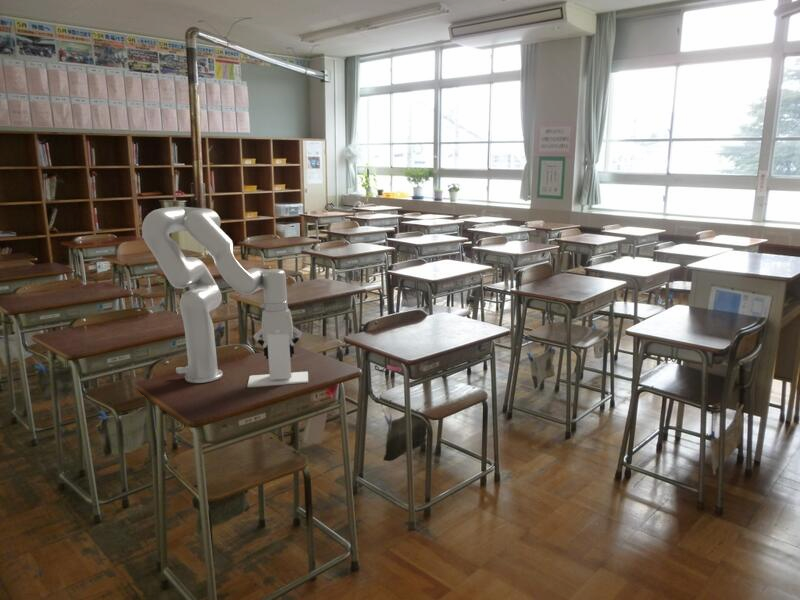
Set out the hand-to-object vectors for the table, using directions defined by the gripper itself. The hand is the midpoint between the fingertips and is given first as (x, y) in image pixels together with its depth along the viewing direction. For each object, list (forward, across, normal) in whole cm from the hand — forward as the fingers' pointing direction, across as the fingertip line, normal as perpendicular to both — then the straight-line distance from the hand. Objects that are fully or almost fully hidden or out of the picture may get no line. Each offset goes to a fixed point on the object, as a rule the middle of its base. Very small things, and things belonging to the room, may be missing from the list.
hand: (279, 356), depth 208 cm
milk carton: (+7, 0, 0) cm, 7 cm away
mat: (+8, -1, 0) cm, 8 cm away
